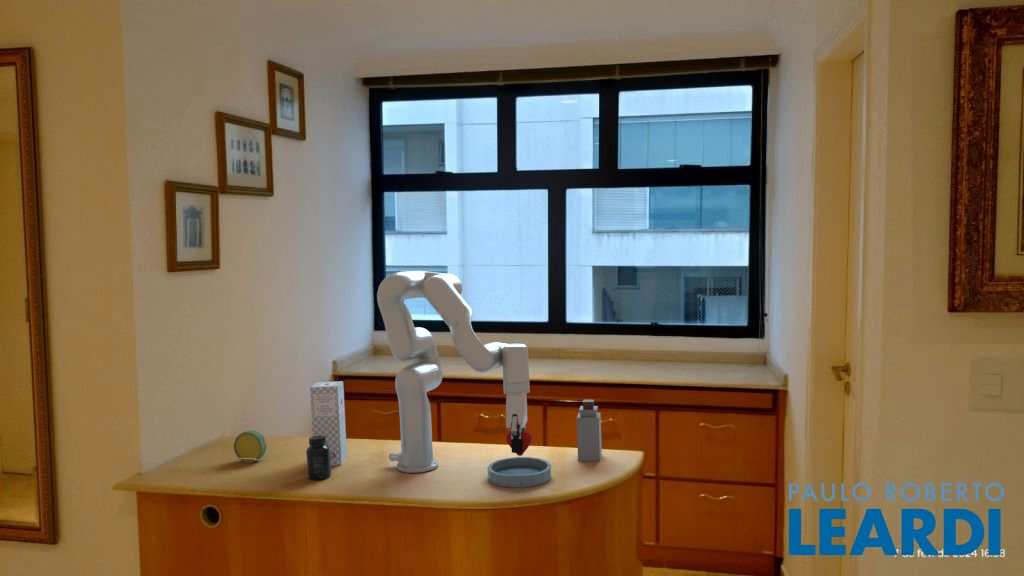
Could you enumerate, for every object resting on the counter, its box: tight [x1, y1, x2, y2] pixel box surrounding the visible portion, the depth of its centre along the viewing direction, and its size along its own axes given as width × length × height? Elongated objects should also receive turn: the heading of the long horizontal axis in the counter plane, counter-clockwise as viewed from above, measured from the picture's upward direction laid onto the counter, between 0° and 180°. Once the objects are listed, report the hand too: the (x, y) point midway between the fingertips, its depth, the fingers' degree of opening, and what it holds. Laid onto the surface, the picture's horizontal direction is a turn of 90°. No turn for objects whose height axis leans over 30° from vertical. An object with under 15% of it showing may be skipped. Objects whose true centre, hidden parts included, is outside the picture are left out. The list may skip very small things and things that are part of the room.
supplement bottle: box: [305, 435, 332, 481], centre depth 212 cm, size 7×7×12 cm
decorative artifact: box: [233, 429, 267, 464], centre depth 233 cm, size 10×7×10 cm
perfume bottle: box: [576, 399, 603, 462], centre depth 221 cm, size 7×7×18 cm
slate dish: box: [487, 456, 552, 489], centre depth 205 cm, size 18×18×3 cm
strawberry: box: [505, 427, 533, 457], centre depth 204 cm, size 6×8×10 cm
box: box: [309, 380, 348, 467], centre depth 227 cm, size 8×8×25 cm
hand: (519, 448), depth 204 cm, fingers closed on strawberry, 6 cm apart
